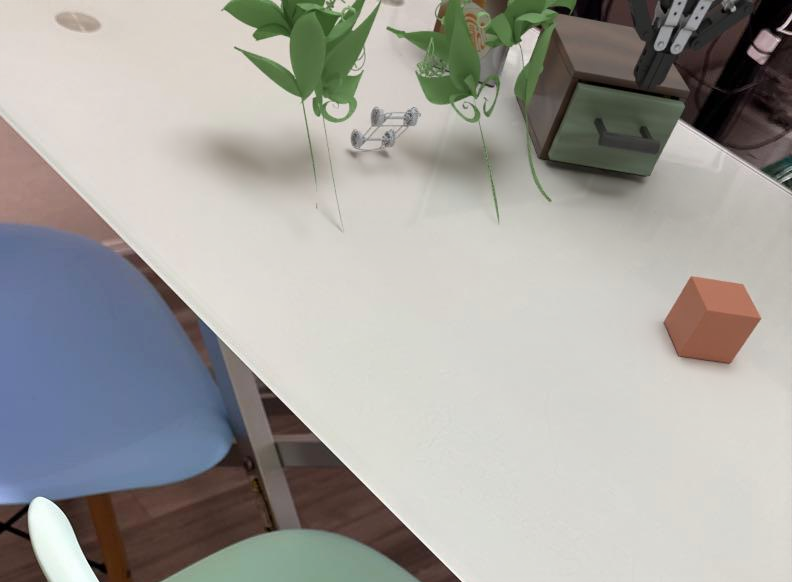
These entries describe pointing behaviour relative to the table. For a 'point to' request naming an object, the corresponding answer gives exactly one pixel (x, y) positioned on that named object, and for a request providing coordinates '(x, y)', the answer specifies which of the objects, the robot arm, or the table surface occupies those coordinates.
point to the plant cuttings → (341, 46)
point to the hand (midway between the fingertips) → (644, 85)
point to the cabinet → (585, 72)
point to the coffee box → (479, 35)
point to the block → (711, 319)
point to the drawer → (615, 128)
